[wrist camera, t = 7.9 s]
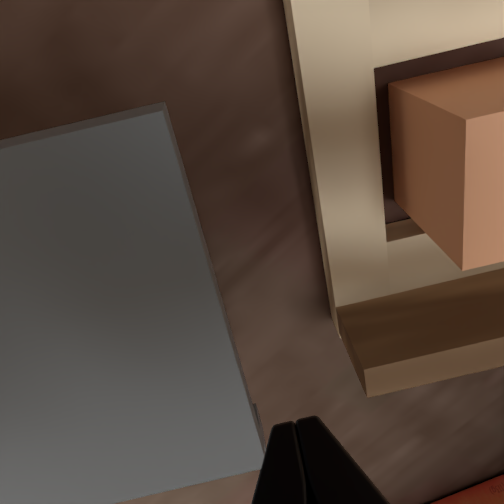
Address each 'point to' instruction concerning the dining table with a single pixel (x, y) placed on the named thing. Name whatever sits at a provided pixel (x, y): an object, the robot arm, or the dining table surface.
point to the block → (452, 158)
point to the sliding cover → (112, 321)
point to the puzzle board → (371, 195)
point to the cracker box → (479, 494)
